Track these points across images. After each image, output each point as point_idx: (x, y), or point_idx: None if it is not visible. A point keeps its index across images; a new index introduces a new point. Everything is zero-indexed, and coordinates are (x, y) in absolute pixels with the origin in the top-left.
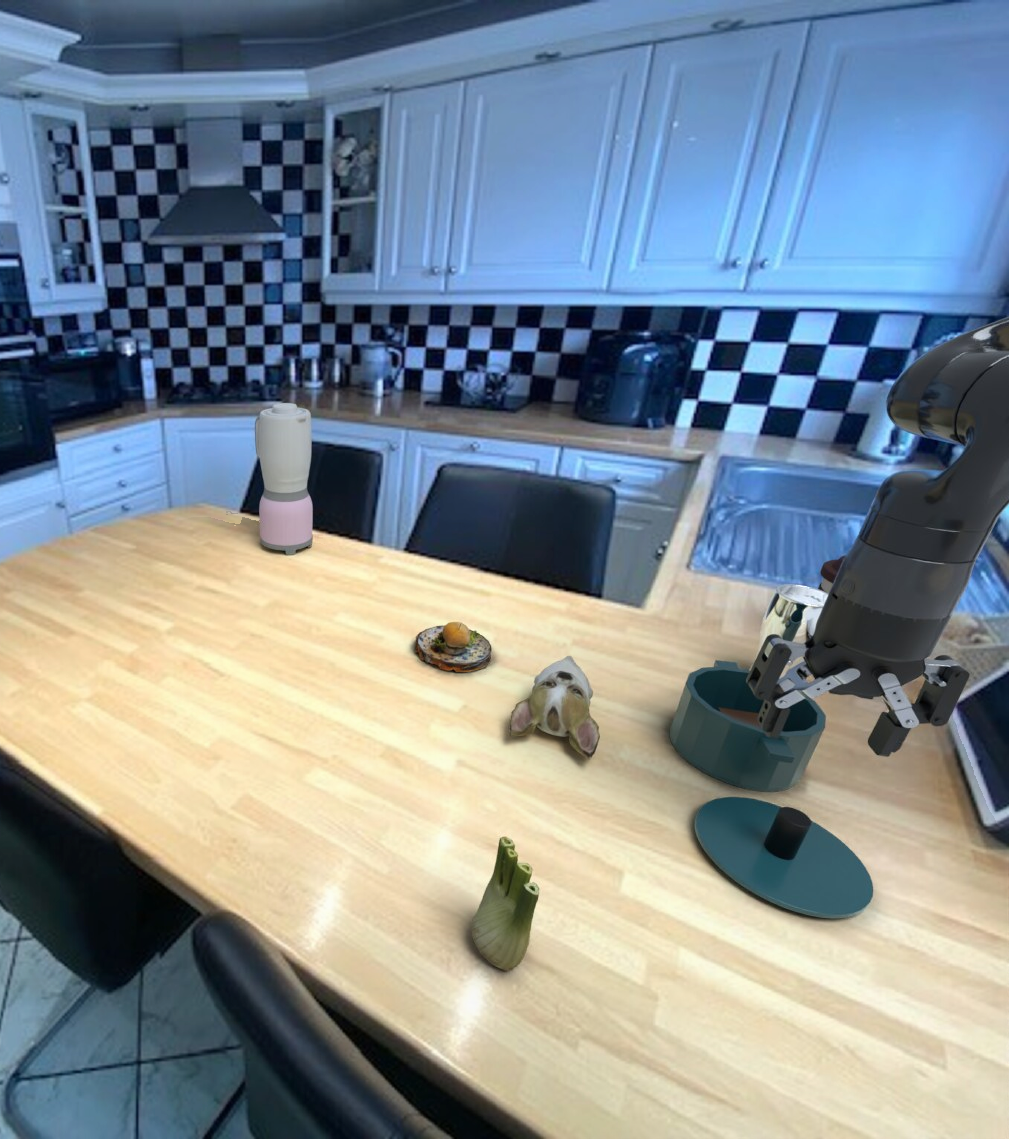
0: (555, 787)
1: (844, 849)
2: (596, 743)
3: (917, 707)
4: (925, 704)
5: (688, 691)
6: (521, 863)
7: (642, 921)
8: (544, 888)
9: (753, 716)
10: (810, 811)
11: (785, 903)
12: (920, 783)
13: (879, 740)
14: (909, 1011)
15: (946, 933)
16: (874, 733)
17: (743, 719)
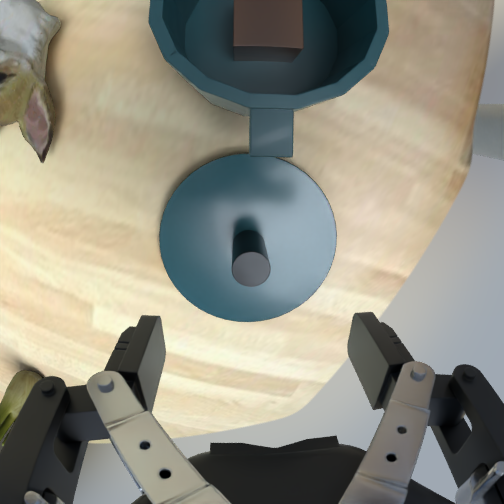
0: (29, 203)
1: (327, 221)
2: (49, 128)
3: (438, 410)
4: (459, 403)
5: (150, 6)
6: (3, 445)
7: (110, 350)
8: (44, 335)
9: (288, 2)
10: (325, 141)
11: (228, 319)
12: (460, 72)
13: (358, 354)
14: (291, 369)
15: (369, 290)
16: (364, 335)
17: (268, 12)
